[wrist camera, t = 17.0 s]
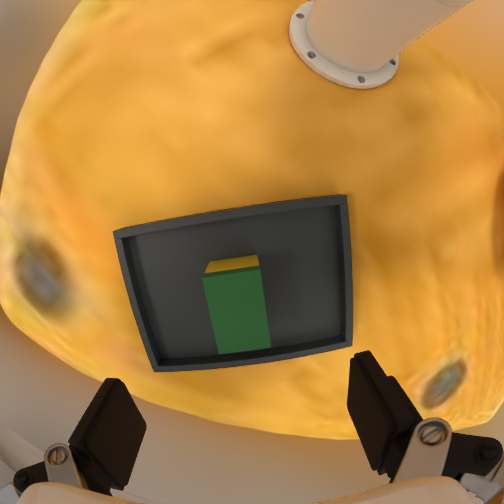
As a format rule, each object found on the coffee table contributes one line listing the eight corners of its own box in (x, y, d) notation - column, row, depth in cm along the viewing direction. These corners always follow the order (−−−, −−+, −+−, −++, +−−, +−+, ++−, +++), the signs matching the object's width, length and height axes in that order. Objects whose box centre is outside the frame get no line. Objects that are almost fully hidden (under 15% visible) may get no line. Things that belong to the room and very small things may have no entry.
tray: (121, 228, 25) (112, 231, 23) (338, 194, 25) (346, 194, 23) (158, 362, 28) (153, 372, 26) (346, 336, 28) (352, 346, 26)
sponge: (209, 261, 25) (201, 277, 21) (257, 254, 25) (260, 269, 21) (222, 327, 27) (218, 354, 22) (266, 321, 27) (271, 347, 22)
